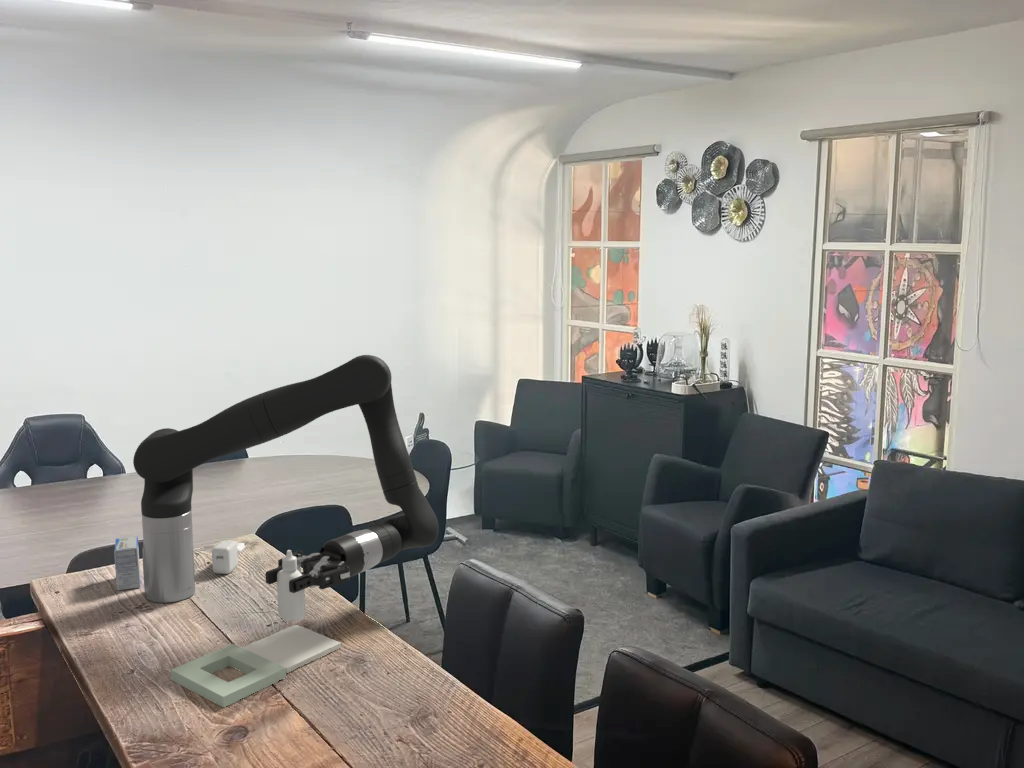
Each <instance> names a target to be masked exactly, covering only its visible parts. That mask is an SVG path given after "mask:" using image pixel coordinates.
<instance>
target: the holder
mask: <svg viewBox="0 0 1024 768" xmlns="http://www.w3.org/2000/svg"><path fill="white" fill-rule="evenodd" d="M227 667H231V668H233V669H235V668H236V669H235V670H236V671H239V670H240V671H239V672H241V673H243V674H244V675H242V676H239V677H237V678H235V679H233V680H231V681H226V680H224V679H223V678H220V677H218V676H216V675H214V674H213V673H216V672H218V671H220V670H223V669H225V668H227ZM245 673H246V674H245ZM284 678H285V679H287V674H286V668H285V667H283V666H281V665H278V664H276V663H274V662H272V661H270V660H267V659H265V658H263V657H261V656H259V655H256V654H254V653H252V652H250V651H248V650H246V649H243V648H242V646H239V645H237V644H234V643H231V644H229V645H227V646H225V647H222V648H219V649H217V650H214V651H212V652H210V653H206V654H205V655H202V656H200V657H198V658H196V659H193V660H190V661H189V662H186V663H184V664H181V665H178V666H176V667H174V668H171V669H170V680H171V681H173V682H175V683H176V684H179V685H180V686H181V687H184V688H186V689H187V690H190V691H192V692H193V693H195V694H198V695H199V696H201V697H202V698H205V699H207V700H209V702H210V701H211V702H212V703H214V704H216V705H217V706H219V707H222V708H226V706H227V707H228V705H229V706H231V705H233V704H236V703H237V702H240V701H241V700H243V699H245V698H248V697H249V695H250V696H252V695H253V693H254V694H256V693H258V692H260V691H263V690H264V689H266V688H268V687H271V686H273V685H274V683H275V684H277V683H278V682H277V681H279V680H281V679H283V680H285V679H284ZM281 681H282V680H281ZM276 682H277V683H276ZM279 682H280V681H279ZM272 684H273V685H272ZM265 687H266V688H265ZM263 688H264V689H263ZM257 691H258V692H257ZM255 692H256V693H255ZM251 694H252V695H251ZM242 698H243V699H242ZM240 699H241V700H240Z"/></svg>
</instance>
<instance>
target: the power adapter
mask: <svg viewBox="0 0 1024 768" xmlns="http://www.w3.org/2000/svg"><path fill="white" fill-rule="evenodd" d="M246 544H247V541H246V540H244V541H242V542H238V541H236V540H224V539H223V540H221V541H220V542H218V543H216V545H214V546H213V548H212V550H211V563H212V566H211V567H212V571H213V573H214V574H219V575H220V574H221V575H224V574H225V575H228V574H230V573H231V572H233V570H235V569H236V568H237V567H238V565H239V555H240V554H241V553H242V552H243V551H244V550H245V548H246Z"/></svg>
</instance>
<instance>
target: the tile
mask: <svg viewBox="0 0 1024 768" xmlns="http://www.w3.org/2000/svg"><path fill="white" fill-rule="evenodd" d="M241 648H243V649H246V650H248V651H250V652H252V653H254V654H256V655H259V656H261V657H263V658H265V659H267V660H270V661H272V662H274V663H276V664H278V665H281V666H283V667H285V668H286V673H288V672H290V671H292V670H294V669H296V668H298V667H300V666H302V665H304V664H306V663H309V662H311V661H313V660H315V659H317V658H319V657H321V656H323V655H325V654H328V653H329V652H332V651H334V650H336V649H338V650H340V649H342V642H340V641H337V640H335V639H332V638H331V637H328V636H326V635H323V634H321V633H318V632H315V631H313V630H311V629H308V628H306V627H304V626H301V625H298V624H293V625H292V626H289V627H285V628H284V629H281V630H279V631H277V632H275V633H271V635H268V636H266V637H263V638H260V639H259V640H256V641H254V642H251V643H249V644H247V645H244V646H243V647H242V646H241ZM339 648H340V649H339ZM336 651H337V650H336ZM334 652H335V651H334ZM332 653H333V652H332ZM328 655H329V654H328ZM321 658H322V657H321ZM319 659H320V658H319ZM317 660H318V659H317ZM315 661H316V660H315ZM313 662H314V661H313ZM311 663H312V662H311ZM309 664H310V663H309ZM300 668H301V667H300ZM298 669H299V668H298ZM296 670H297V669H296ZM294 671H295V670H294ZM292 672H293V671H292ZM290 673H291V672H290ZM288 674H289V673H288Z"/></svg>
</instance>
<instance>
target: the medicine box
mask: <svg viewBox="0 0 1024 768" xmlns="http://www.w3.org/2000/svg"><path fill="white" fill-rule="evenodd" d="M114 543H115V544H114V552H113V553H114V554H113V555H114V567H115V570H114V571H115V580H116V590H117V591H126V590H133V589H140V588H141V567H140V566H141V565H140V564H141V563H140V551H139V538H138V536H137V535H134V536H124V537H117V538H115V542H114Z"/></svg>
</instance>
